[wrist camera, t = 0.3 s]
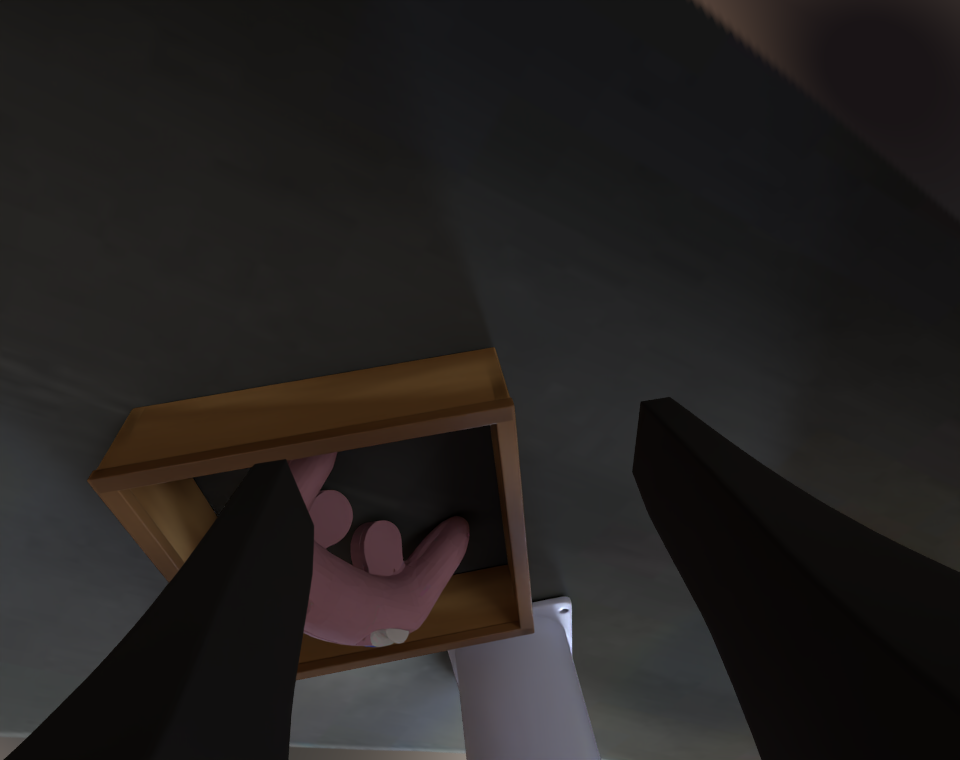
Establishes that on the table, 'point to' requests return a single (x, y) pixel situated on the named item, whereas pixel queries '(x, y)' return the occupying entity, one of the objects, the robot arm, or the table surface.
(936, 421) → the table surface
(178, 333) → the table surface
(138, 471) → the wooden frame
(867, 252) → the table surface
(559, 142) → the table surface
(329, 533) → the video game controller
